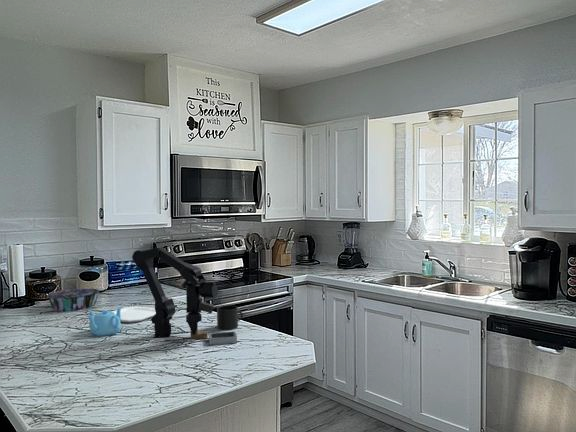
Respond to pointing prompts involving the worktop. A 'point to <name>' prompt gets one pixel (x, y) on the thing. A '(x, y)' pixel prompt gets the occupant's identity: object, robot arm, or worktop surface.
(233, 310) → the mug
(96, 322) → the teapot
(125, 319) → the plate
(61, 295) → the decorative bowl
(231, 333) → the grey rectangular tray
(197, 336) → the tan toy chair
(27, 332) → the worktop surface
